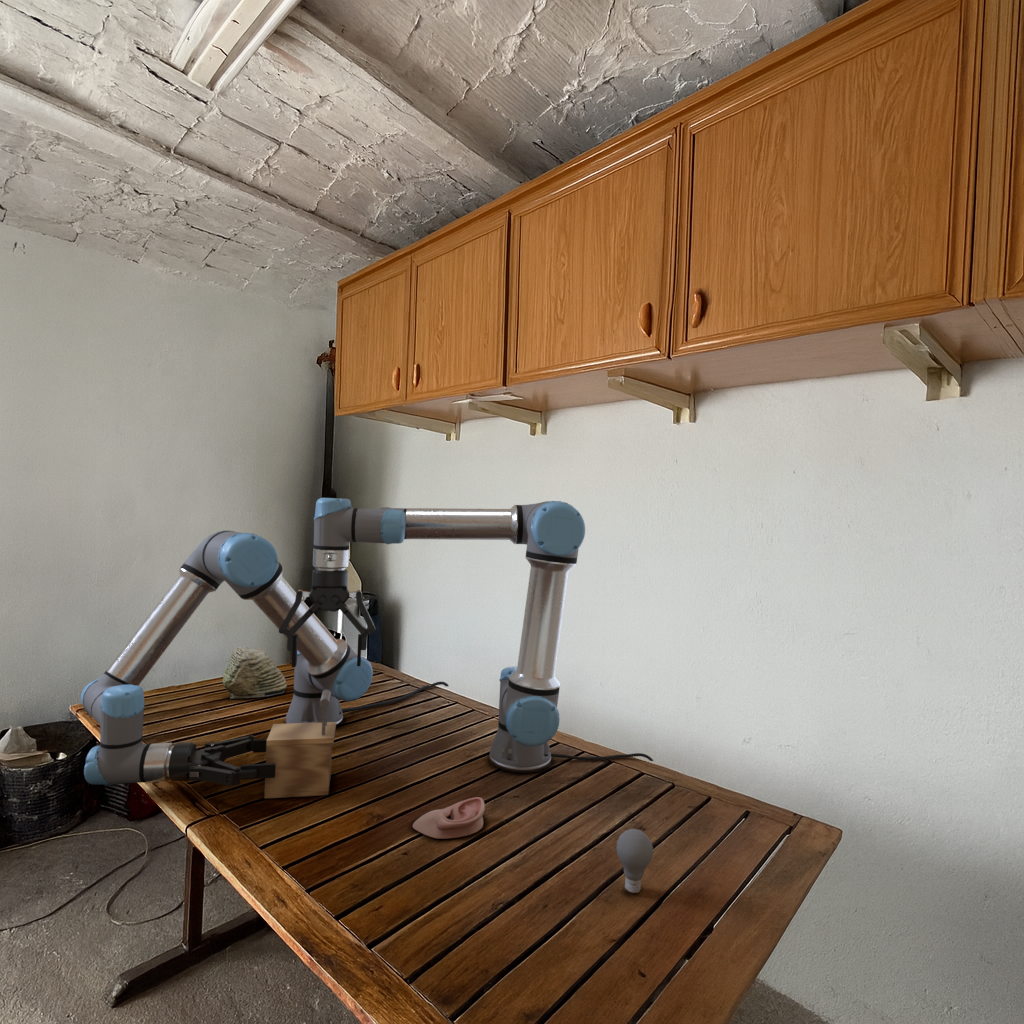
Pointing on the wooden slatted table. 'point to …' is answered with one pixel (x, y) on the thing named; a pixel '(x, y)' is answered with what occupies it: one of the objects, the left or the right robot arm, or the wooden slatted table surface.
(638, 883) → the light bulb
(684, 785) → the wooden slatted table surface
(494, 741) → the right robot arm
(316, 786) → the chest
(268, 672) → the fossil
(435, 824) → the anatomical model
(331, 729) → the lid
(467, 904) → the wooden slatted table surface
